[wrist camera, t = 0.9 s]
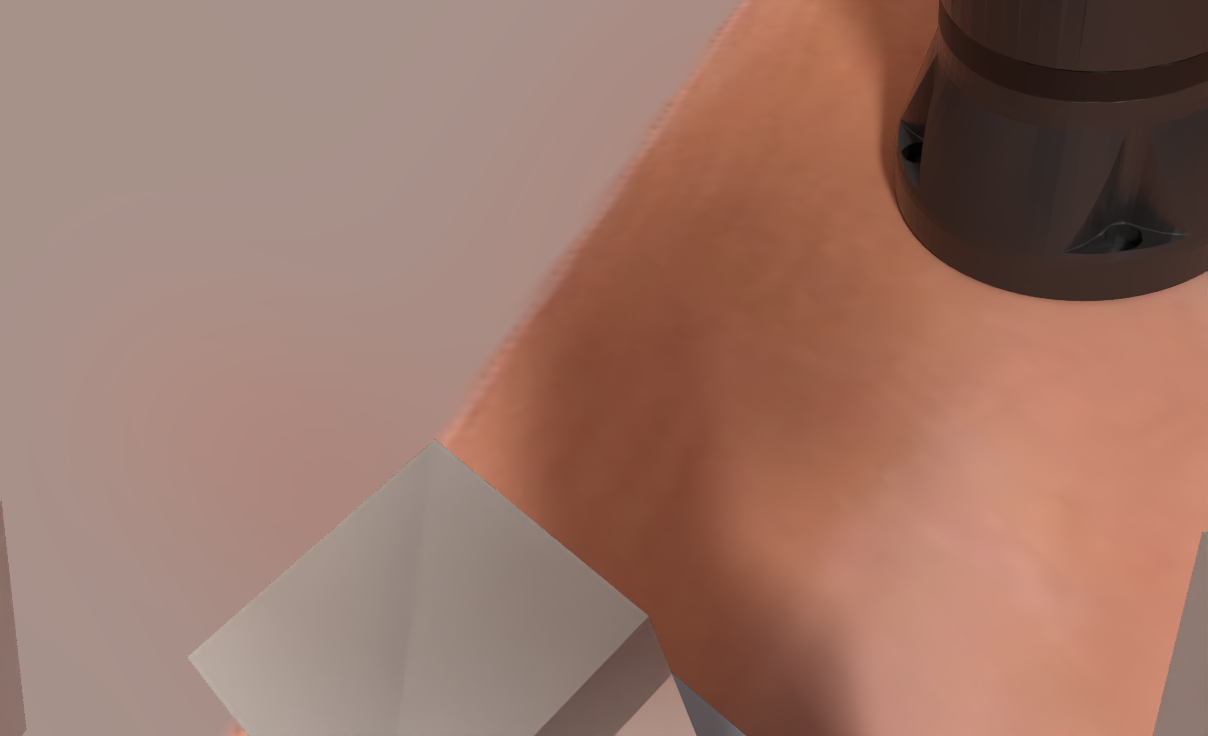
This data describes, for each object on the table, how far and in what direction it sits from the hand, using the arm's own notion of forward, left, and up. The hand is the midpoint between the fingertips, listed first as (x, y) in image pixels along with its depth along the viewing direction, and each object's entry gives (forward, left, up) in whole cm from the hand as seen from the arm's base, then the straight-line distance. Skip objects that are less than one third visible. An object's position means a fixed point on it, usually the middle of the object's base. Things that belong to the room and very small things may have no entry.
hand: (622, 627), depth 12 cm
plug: (+1, -4, -17) cm, 17 cm away
